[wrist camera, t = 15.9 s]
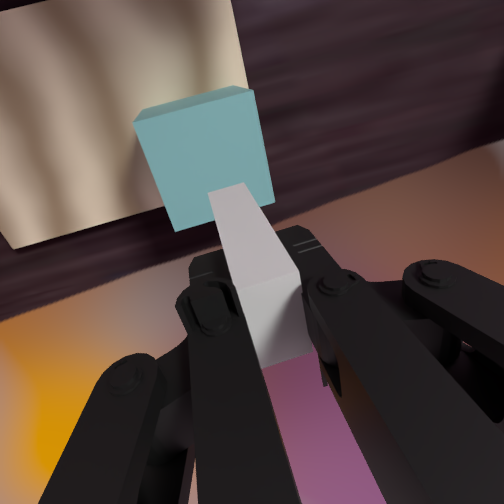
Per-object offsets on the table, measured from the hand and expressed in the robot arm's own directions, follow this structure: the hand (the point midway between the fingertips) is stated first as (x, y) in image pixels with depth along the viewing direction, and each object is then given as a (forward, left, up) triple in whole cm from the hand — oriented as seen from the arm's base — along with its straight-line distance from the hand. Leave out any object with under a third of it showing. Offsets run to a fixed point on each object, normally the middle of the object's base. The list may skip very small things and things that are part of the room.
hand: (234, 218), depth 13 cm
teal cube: (0, 0, -17) cm, 17 cm away
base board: (-7, -4, -19) cm, 20 cm away
